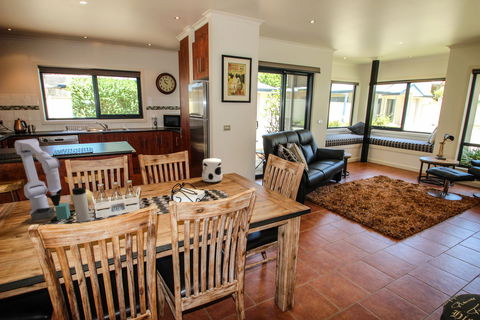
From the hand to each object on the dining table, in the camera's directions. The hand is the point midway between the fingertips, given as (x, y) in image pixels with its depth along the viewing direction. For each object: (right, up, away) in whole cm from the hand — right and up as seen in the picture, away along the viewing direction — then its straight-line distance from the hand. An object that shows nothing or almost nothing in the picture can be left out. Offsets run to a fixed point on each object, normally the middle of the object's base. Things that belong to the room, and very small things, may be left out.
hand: (57, 203), depth 143 cm
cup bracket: (-10, -8, +3) cm, 13 cm away
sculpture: (0, -5, +23) cm, 23 cm away
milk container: (+80, +7, +73) cm, 108 cm away
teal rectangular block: (+1, -9, +4) cm, 10 cm away
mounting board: (-10, -9, +3) cm, 14 cm away
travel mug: (+15, -10, 0) cm, 18 cm away
